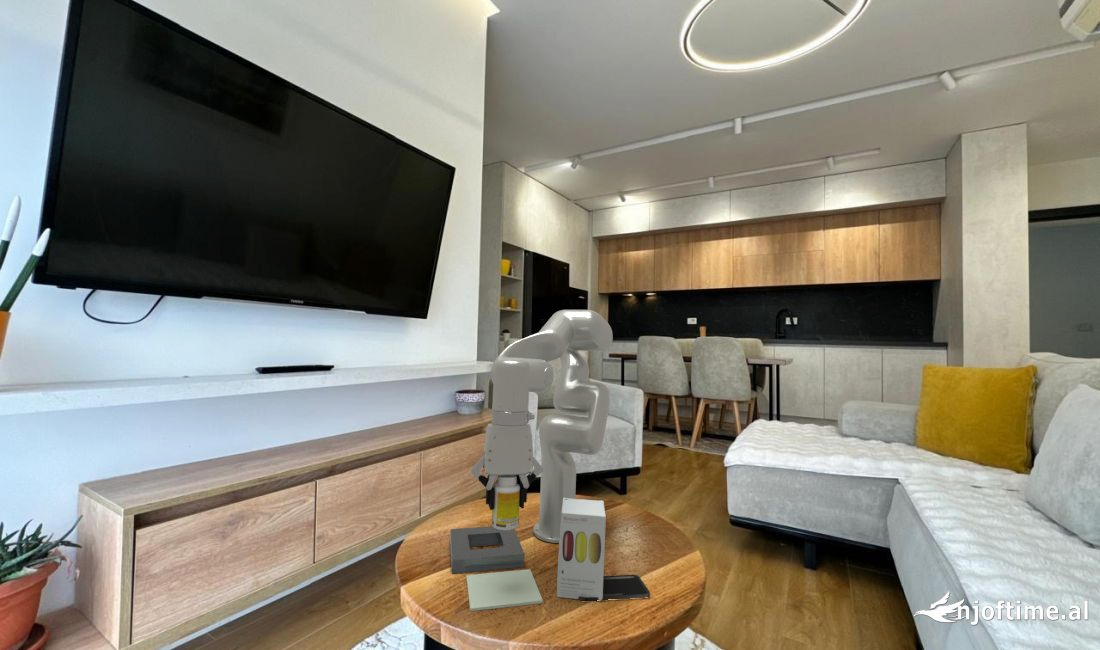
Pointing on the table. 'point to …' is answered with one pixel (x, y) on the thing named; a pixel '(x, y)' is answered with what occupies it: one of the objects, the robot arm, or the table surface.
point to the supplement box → (581, 549)
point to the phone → (621, 588)
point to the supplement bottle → (506, 503)
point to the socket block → (484, 550)
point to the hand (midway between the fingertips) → (506, 505)
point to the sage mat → (502, 590)
